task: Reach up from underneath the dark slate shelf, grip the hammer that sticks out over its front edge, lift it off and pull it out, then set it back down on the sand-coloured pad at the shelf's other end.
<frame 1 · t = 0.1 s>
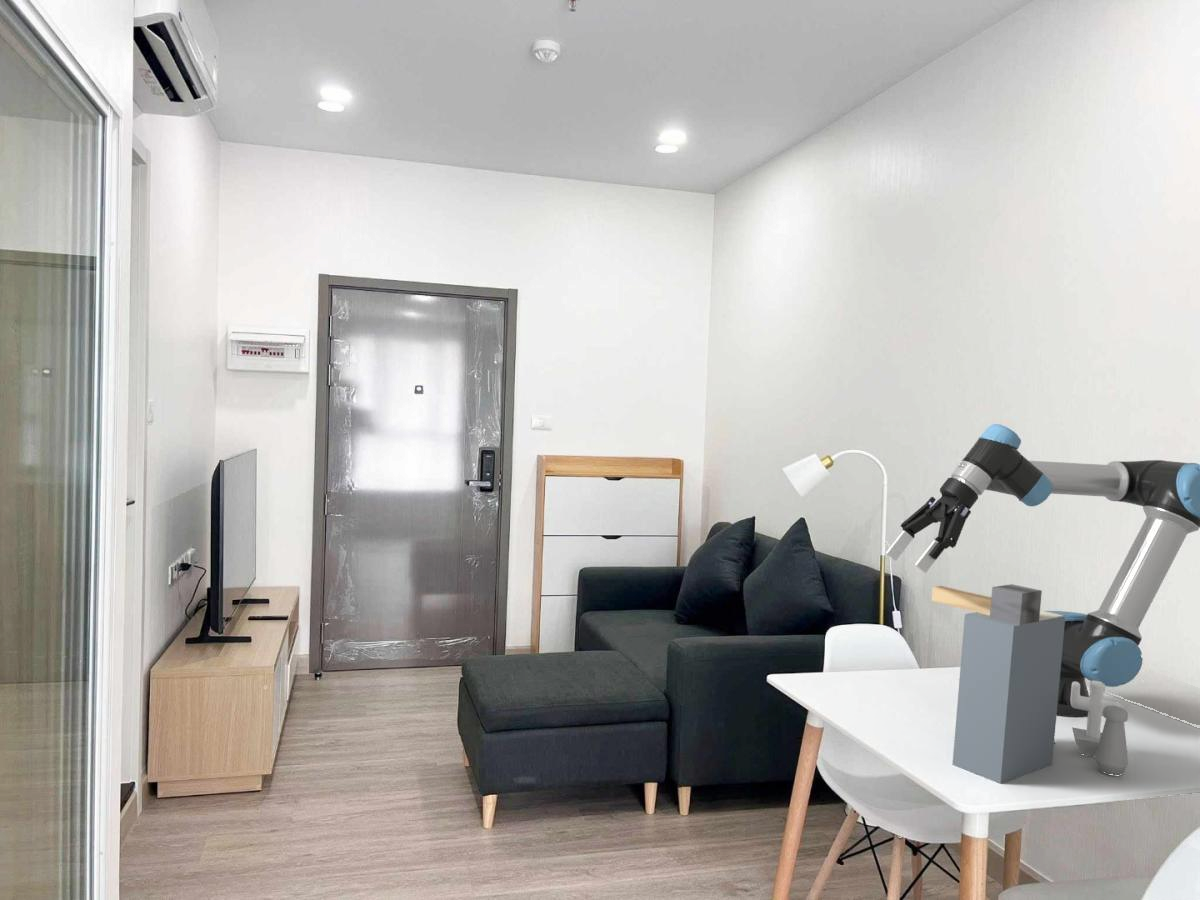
hand: (904, 562, 199), 36 cm above the table, tool tilted 35°, fingers open, 13 cm apart
condiment: (1031, 745, 193), on the table
salt shaker: (1110, 773, 180), on the table
figurine: (1091, 754, 190), on the table
hammer: (980, 611, 181), point 30 cm above the table, touching slate shelf
slate shelf: (1002, 764, 181), on the table
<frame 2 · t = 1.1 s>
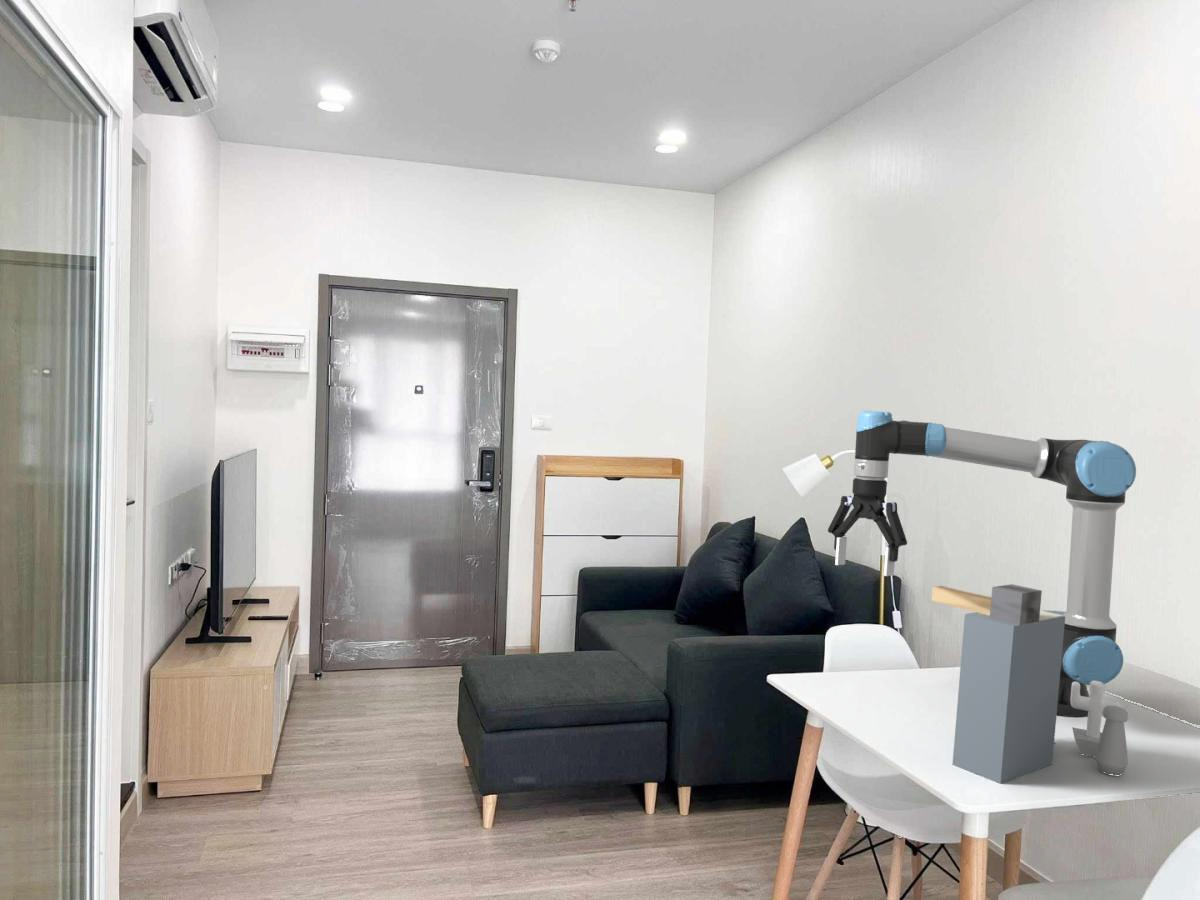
hand: (863, 570, 210), 32 cm above the table, tool pointing down, fingers open, 13 cm apart
nothing on the table moved.
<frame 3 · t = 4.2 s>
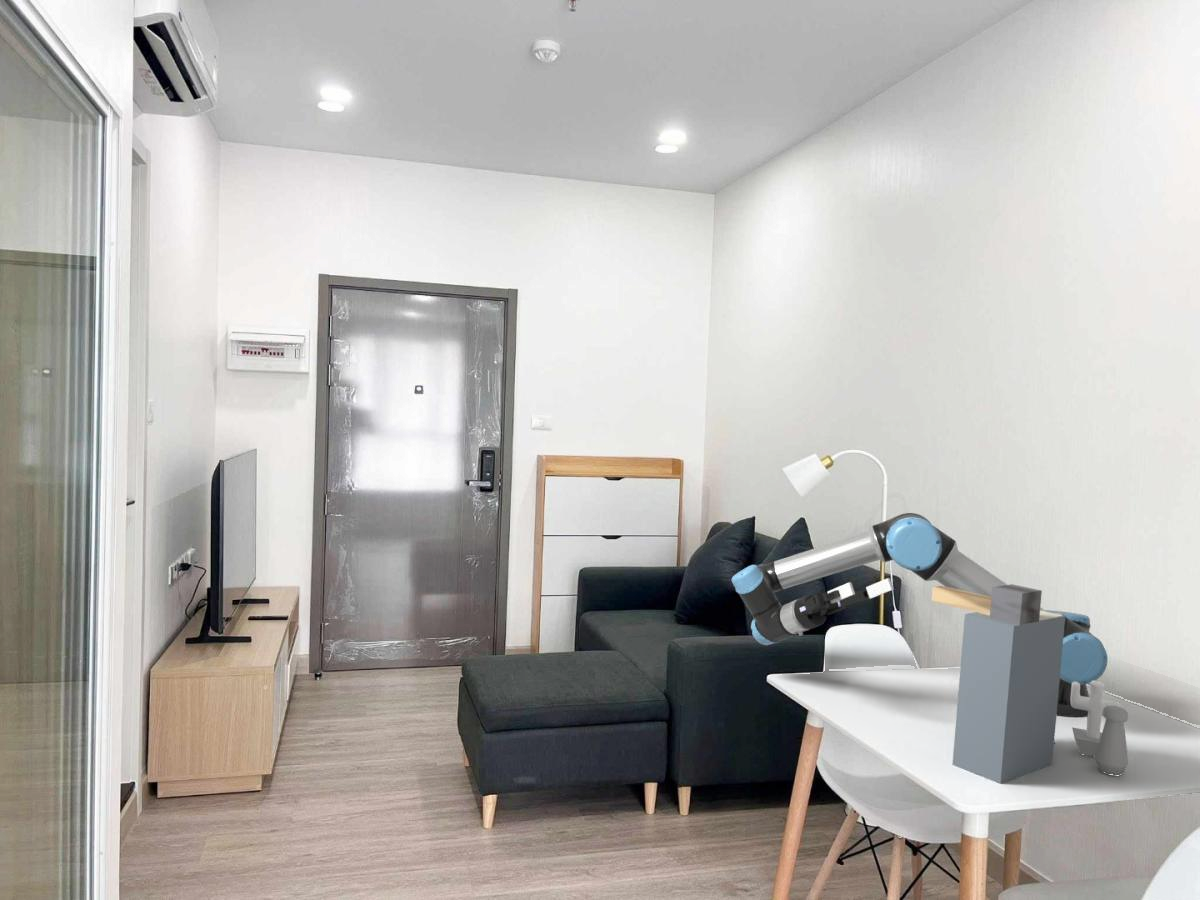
hand: (871, 585, 202), 30 cm above the table, tool pointing upward, fingers open, 13 cm apart
nothing on the table moved.
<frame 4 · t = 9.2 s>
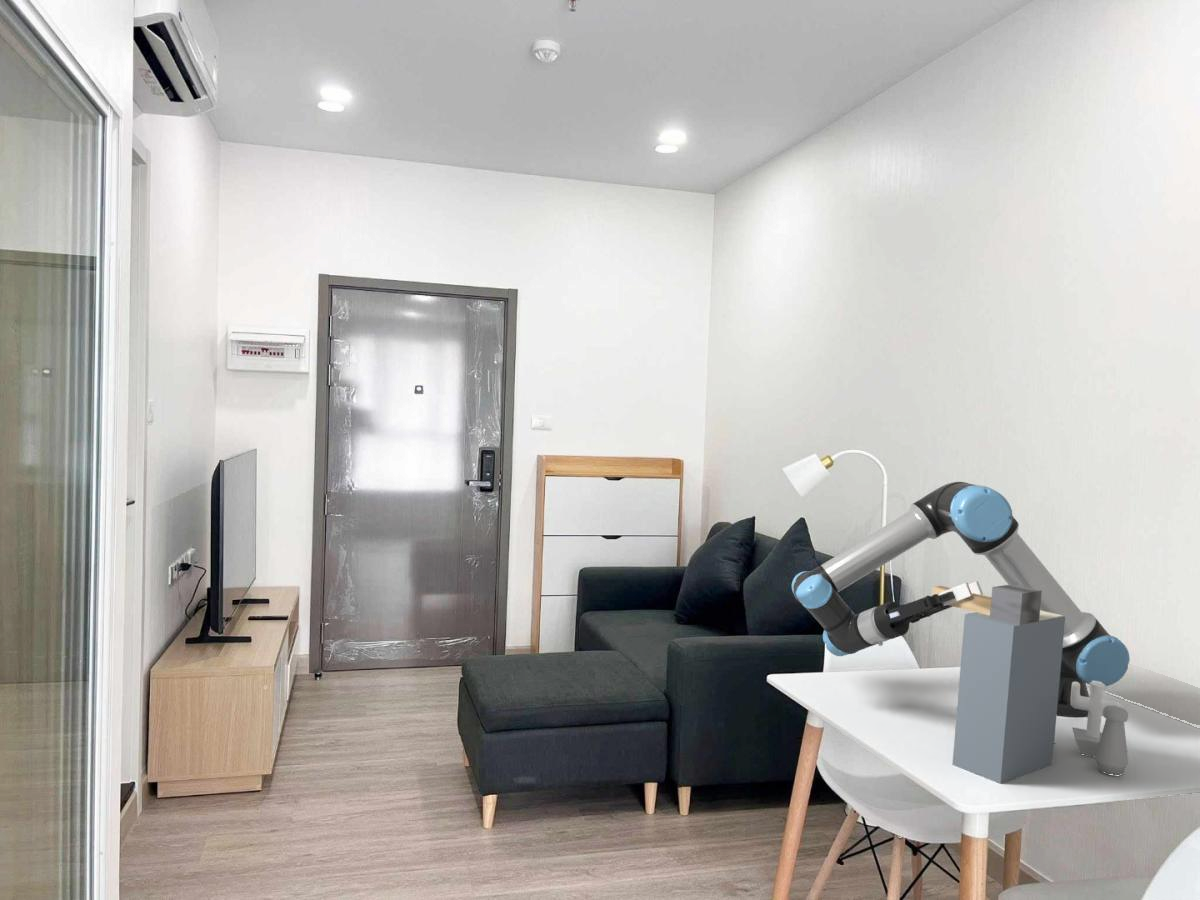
hand: (974, 588, 182), 34 cm above the table, tool pointing upward, fingers closed on hammer, 3 cm apart
hammer: (980, 611, 181), point 30 cm above the table, touching gripper, slate shelf
everything else where it was.
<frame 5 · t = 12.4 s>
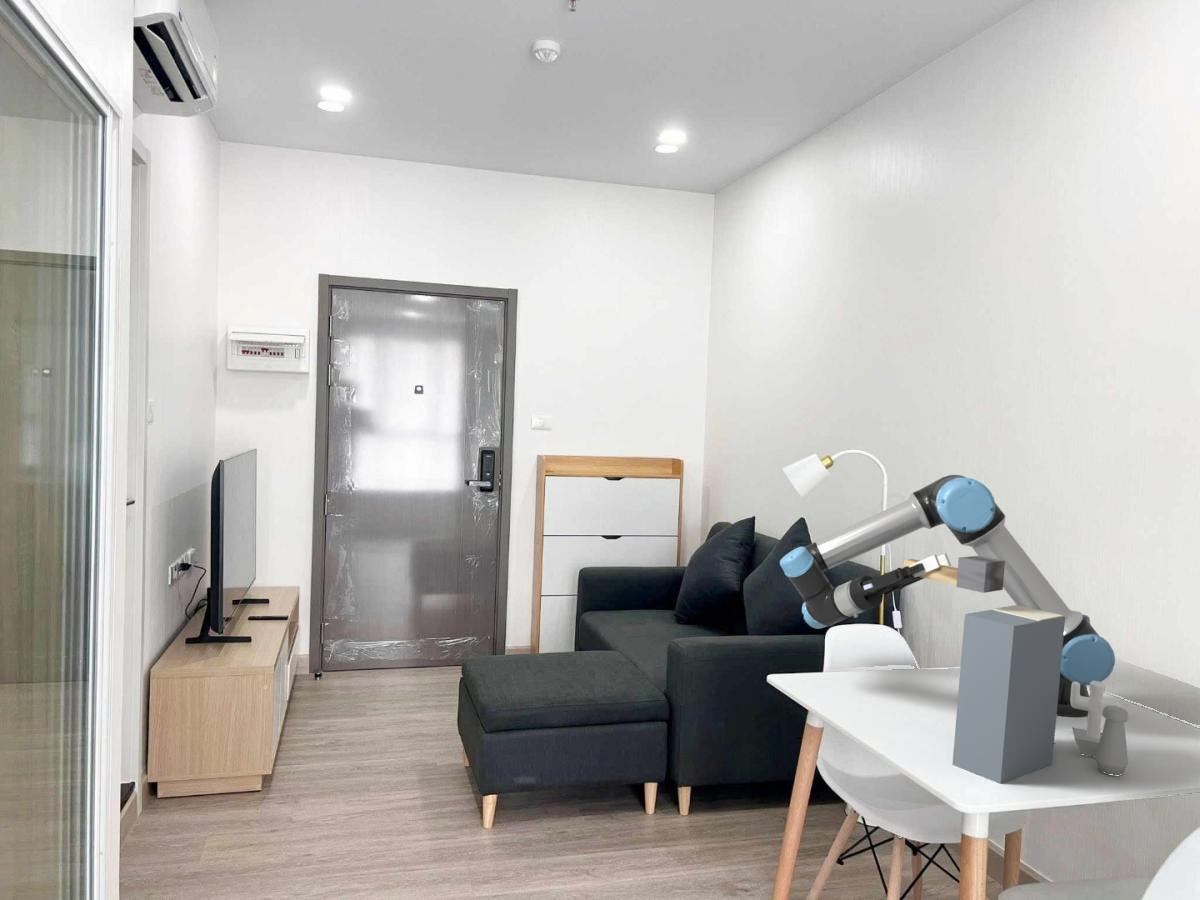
hand: (942, 560, 192), 38 cm above the table, tool pointing upward, fingers closed on hammer, 3 cm apart
hammer: (948, 581, 191), point 34 cm above the table, touching gripper
everything else where it was.
when the fingers open (36 cm above the table, at t = 15.5 s): hammer drops 1 cm, resting on slate shelf.
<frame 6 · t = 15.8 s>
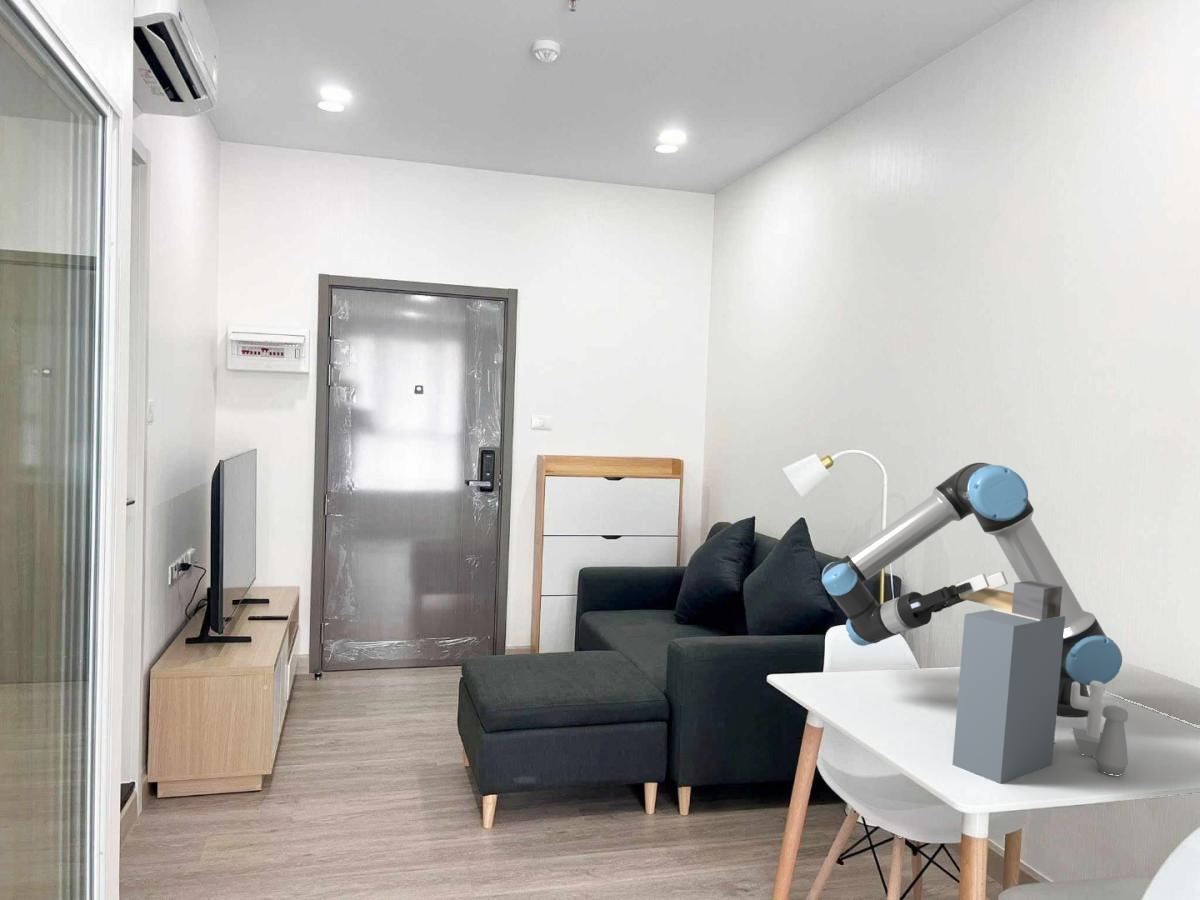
hand: (995, 578, 187), 36 cm above the table, tool pointing upward, fingers open, 6 cm apart
hammer: (1002, 606, 186), point 30 cm above the table, touching slate shelf
everything else where it was.
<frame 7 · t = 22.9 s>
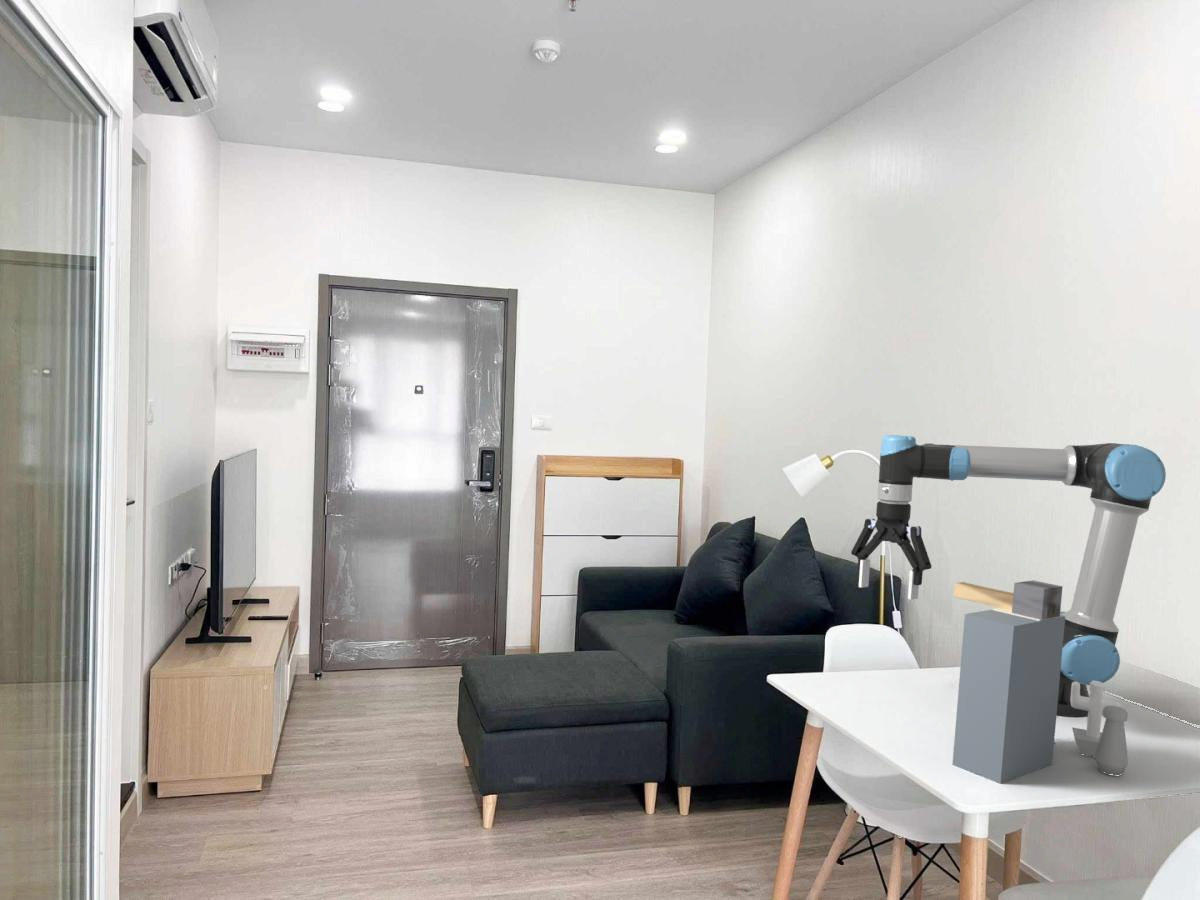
hand: (887, 592, 212), 27 cm above the table, tool pointing down, fingers open, 13 cm apart
nothing on the table moved.
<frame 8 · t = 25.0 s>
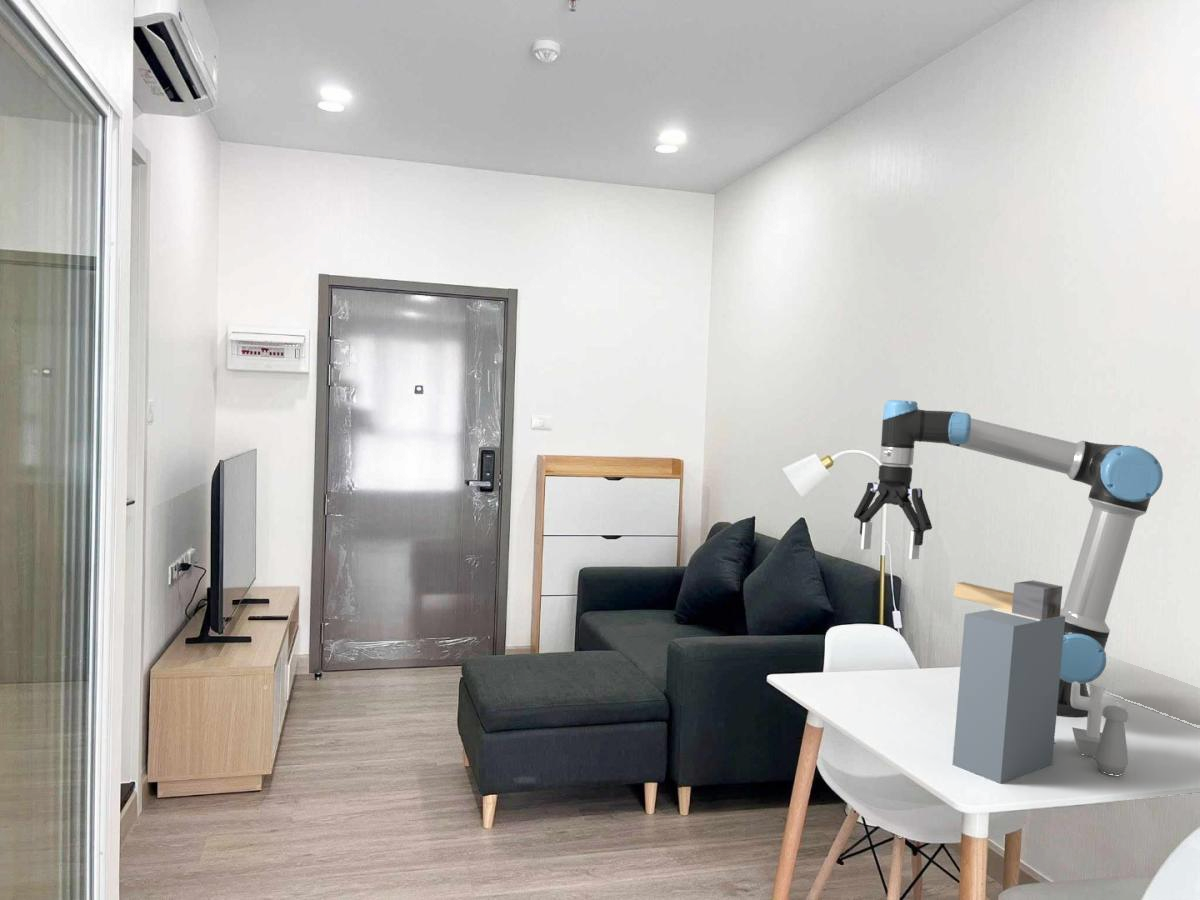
hand: (889, 553, 218), 35 cm above the table, tool pointing down, fingers open, 13 cm apart
nothing on the table moved.
at the end: hammer 0.3 cm from the target spot, point 30.2 cm above the table; the gripper is holding nothing; hammer tilted 0° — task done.
